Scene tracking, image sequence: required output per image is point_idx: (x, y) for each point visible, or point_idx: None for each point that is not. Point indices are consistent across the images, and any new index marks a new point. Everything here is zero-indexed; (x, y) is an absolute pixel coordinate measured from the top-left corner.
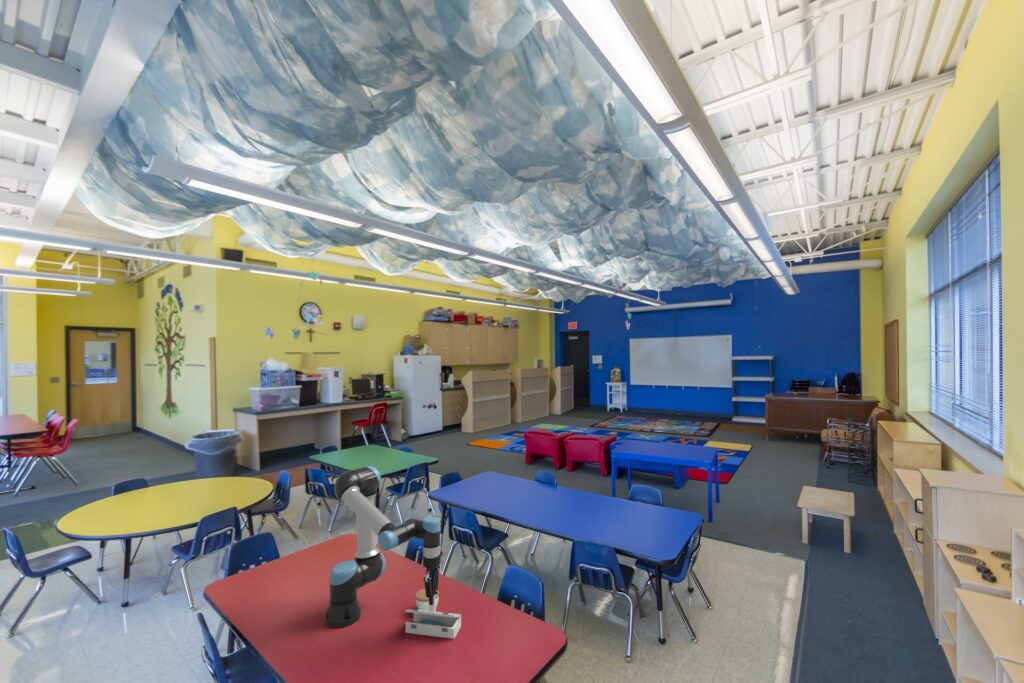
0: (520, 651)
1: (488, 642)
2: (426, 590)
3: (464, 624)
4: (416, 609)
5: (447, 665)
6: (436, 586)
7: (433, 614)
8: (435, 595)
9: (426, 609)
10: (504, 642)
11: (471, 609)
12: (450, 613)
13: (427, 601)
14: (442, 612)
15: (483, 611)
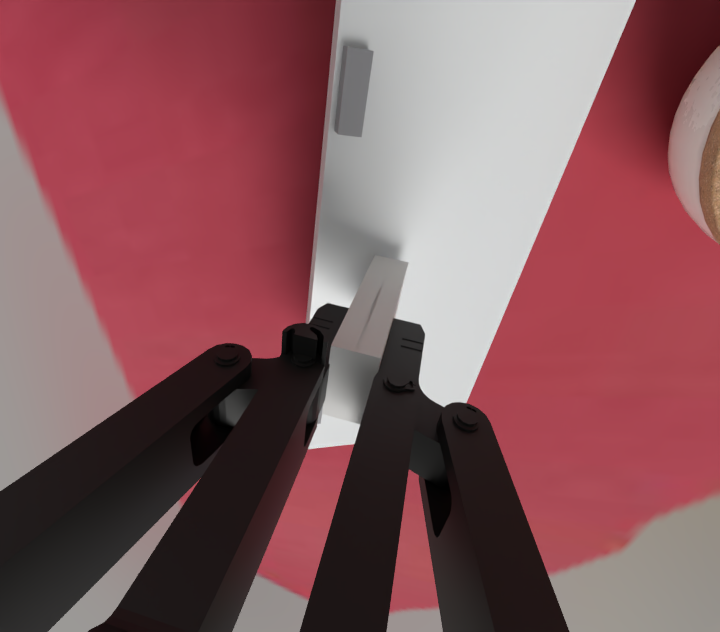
0: (285, 538)
1: (322, 471)
2: (101, 442)
3: (469, 397)
4: (340, 119)
5: (151, 334)
6: (429, 512)
7: (307, 311)
8: (358, 420)
9: (669, 138)
10: (328, 512)
11: (638, 434)
12: (457, 381)
13: (700, 170)
14: (490, 324)
15: (591, 482)
